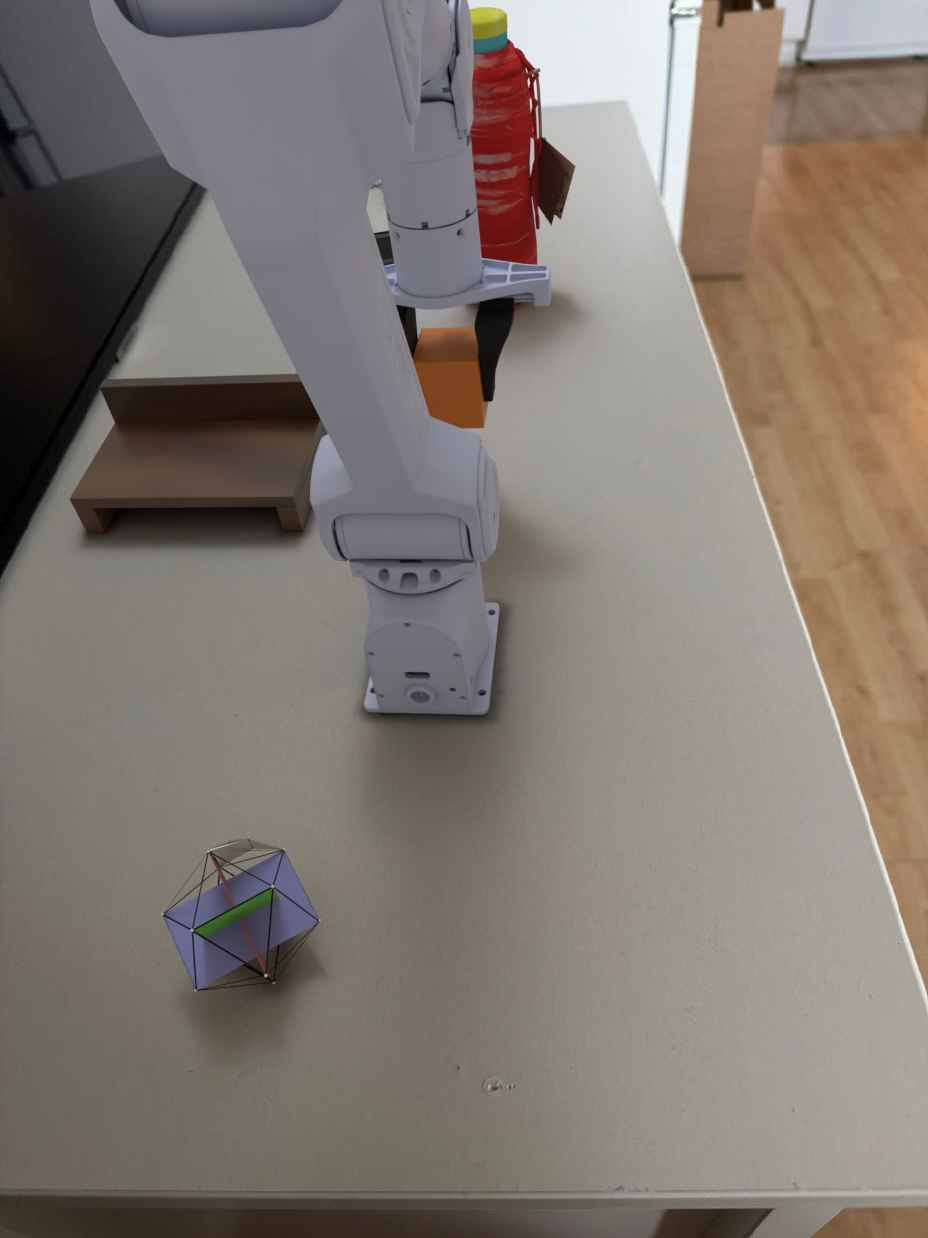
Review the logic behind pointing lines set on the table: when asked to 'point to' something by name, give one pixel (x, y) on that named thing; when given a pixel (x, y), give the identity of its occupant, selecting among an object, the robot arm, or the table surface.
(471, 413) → the orange cube-like block
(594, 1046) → the table surface
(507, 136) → the water bottle
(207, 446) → the shelf
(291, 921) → the geometric puzzle
